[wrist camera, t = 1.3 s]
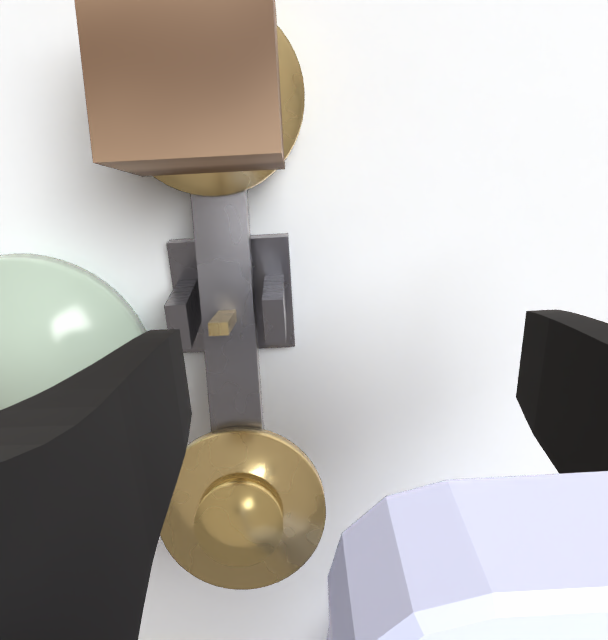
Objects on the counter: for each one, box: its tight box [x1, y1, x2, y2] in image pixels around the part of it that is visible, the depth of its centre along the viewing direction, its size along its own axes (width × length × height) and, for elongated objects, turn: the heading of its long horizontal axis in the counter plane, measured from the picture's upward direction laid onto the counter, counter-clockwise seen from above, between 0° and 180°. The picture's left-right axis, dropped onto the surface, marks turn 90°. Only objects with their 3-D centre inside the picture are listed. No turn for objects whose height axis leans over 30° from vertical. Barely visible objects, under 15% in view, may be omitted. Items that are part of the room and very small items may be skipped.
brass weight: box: [194, 472, 284, 567], centre depth 20 cm, size 3×3×1 cm
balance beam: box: [154, 26, 326, 589], centre depth 19 cm, size 20×6×3 cm, turn 2°
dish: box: [0, 254, 146, 410], centre depth 22 cm, size 9×9×1 cm
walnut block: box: [75, 0, 285, 176], centre depth 15 cm, size 4×4×4 cm
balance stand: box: [164, 233, 295, 353], centre depth 20 cm, size 4×4×3 cm
